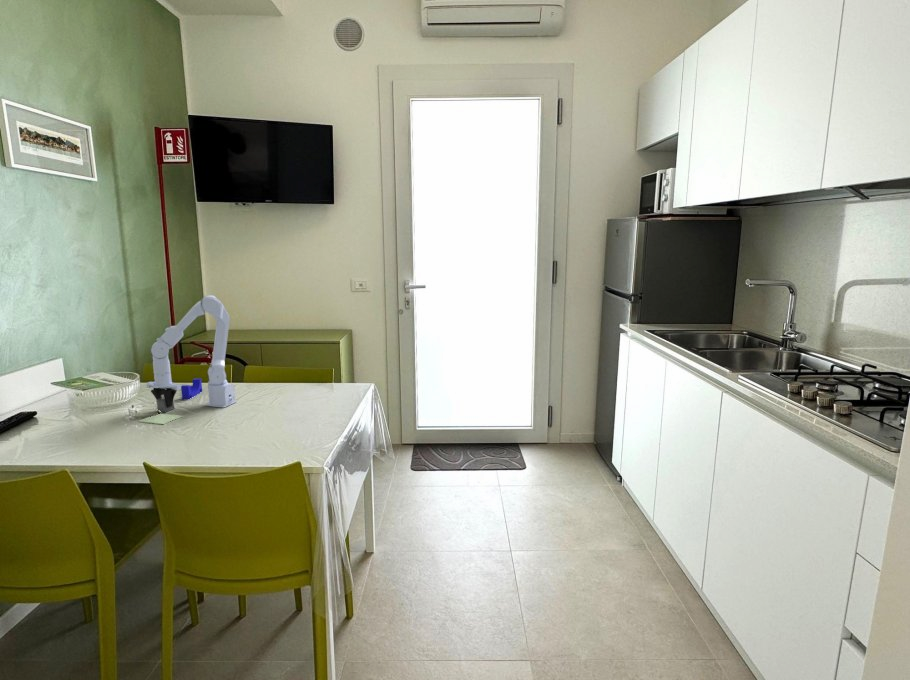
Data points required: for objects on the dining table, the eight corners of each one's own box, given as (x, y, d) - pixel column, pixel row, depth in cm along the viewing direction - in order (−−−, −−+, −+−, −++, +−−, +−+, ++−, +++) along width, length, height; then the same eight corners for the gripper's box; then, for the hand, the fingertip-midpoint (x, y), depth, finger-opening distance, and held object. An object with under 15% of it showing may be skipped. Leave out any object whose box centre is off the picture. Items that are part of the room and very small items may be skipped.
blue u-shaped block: (192, 391, 235) (190, 378, 234) (202, 391, 235) (201, 378, 234) (178, 400, 223) (177, 386, 222) (189, 400, 223) (188, 386, 222)
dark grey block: (176, 408, 212) (174, 392, 210) (162, 413, 205) (160, 397, 204) (169, 407, 212) (168, 391, 211) (155, 412, 206) (154, 396, 205)
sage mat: (181, 416, 201) (181, 415, 201) (163, 424, 193) (163, 423, 193) (158, 414, 204) (157, 413, 204) (138, 421, 196) (138, 420, 196)
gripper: (138, 373, 204) (142, 407, 206) (169, 376, 200) (173, 411, 203) (153, 369, 211) (156, 402, 213) (183, 372, 207) (187, 405, 209)
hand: (165, 406), depth 208 cm, fingers closed on dark grey block, 3 cm apart
